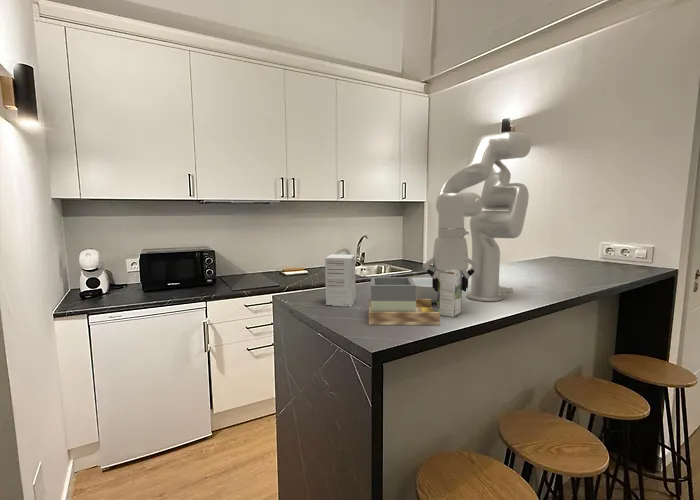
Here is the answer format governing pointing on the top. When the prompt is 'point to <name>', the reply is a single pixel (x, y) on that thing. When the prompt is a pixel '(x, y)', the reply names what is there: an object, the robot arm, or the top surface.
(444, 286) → the syrup box
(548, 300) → the top surface
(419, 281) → the cereal bowl
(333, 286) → the supplement box
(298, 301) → the top surface
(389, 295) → the crate
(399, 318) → the bay
